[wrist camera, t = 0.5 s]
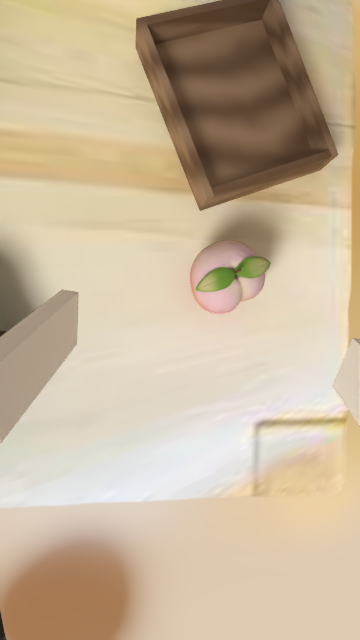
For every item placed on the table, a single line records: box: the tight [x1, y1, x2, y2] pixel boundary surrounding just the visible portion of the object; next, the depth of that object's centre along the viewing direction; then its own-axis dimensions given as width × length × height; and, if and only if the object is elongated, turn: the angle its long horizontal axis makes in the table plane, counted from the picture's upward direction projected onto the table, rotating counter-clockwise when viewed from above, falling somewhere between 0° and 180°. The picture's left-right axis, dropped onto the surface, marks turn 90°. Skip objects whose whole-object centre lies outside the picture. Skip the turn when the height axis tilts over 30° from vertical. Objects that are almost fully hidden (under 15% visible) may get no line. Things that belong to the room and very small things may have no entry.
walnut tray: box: [136, 0, 338, 211], centre depth 43 cm, size 24×20×4 cm
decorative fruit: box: [190, 240, 271, 314], centre depth 38 cm, size 9×8×10 cm
